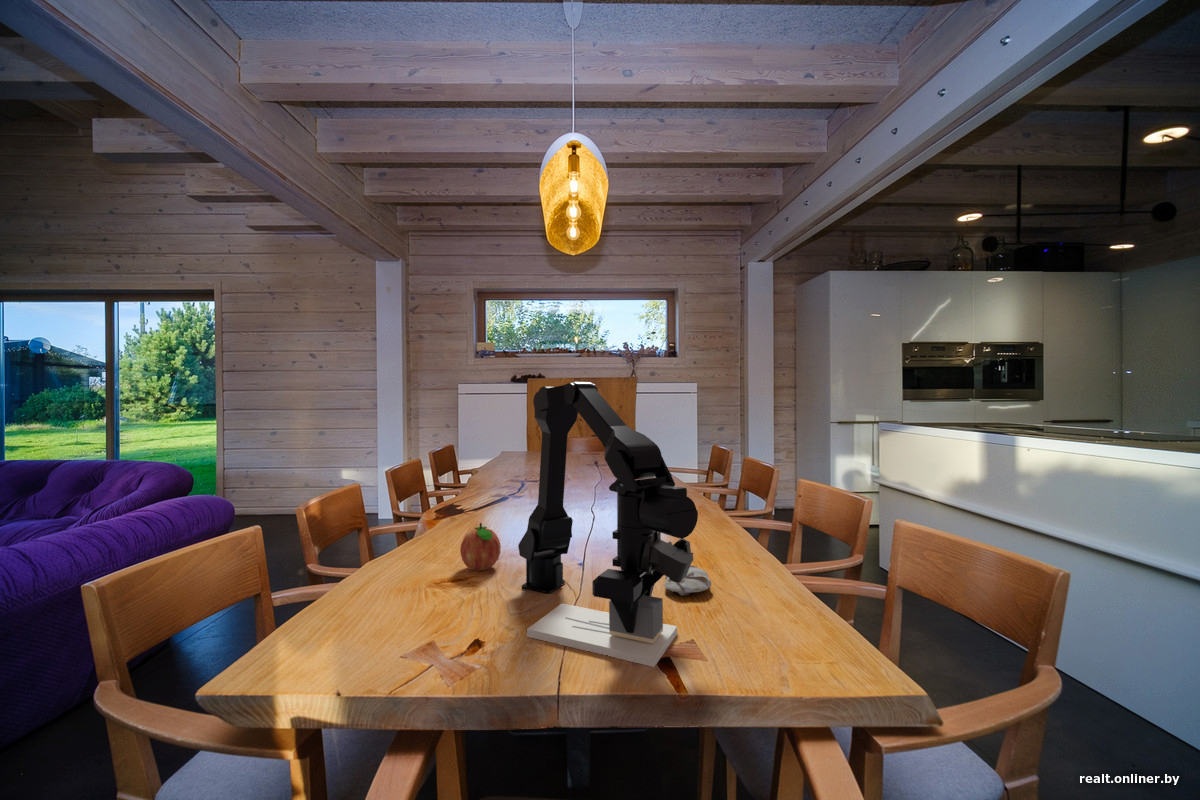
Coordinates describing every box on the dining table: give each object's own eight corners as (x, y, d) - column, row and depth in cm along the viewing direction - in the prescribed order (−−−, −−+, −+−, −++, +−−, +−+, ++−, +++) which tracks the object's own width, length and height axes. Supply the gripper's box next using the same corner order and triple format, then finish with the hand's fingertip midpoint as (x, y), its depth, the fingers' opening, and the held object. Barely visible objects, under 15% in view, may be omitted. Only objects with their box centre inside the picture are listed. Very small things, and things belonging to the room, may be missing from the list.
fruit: (459, 577, 106) (459, 529, 106) (461, 563, 115) (461, 519, 115) (501, 574, 108) (501, 527, 108) (499, 560, 117) (499, 517, 117)
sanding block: (609, 634, 77) (609, 601, 77) (620, 622, 81) (620, 591, 81) (653, 643, 74) (652, 609, 74) (662, 630, 78) (662, 598, 78)
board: (527, 636, 79) (527, 628, 79) (561, 610, 89) (561, 603, 89) (654, 667, 70) (654, 658, 70) (677, 633, 80) (677, 626, 80)
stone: (714, 602, 94) (714, 584, 94) (664, 599, 95) (664, 582, 95) (706, 579, 106) (706, 563, 106) (662, 577, 107) (662, 561, 107)
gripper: (667, 546, 65) (667, 666, 65) (703, 516, 82) (703, 612, 82) (590, 536, 70) (590, 648, 70) (638, 510, 87) (639, 600, 87)
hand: (636, 625), depth 77 cm, fingers closed on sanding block, 4 cm apart
